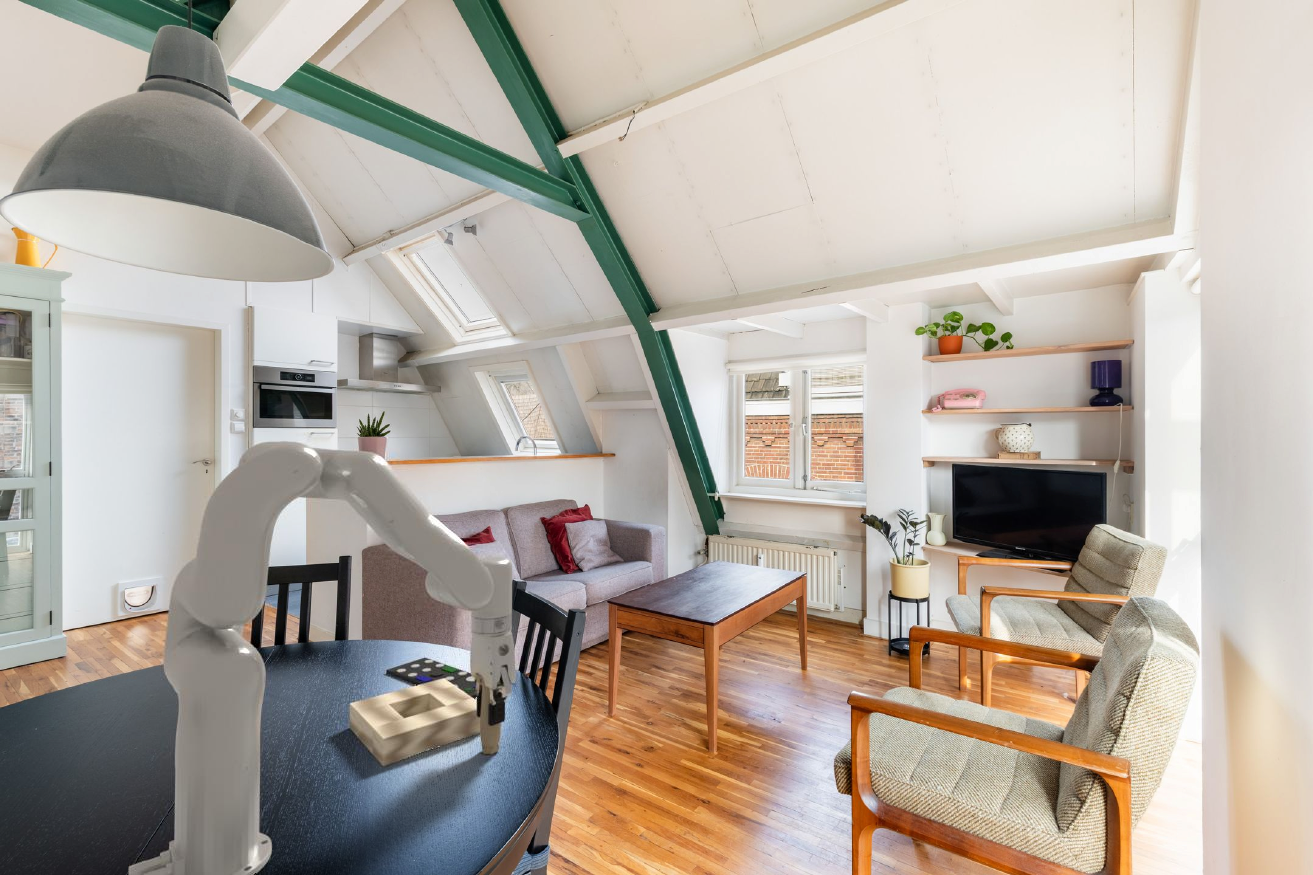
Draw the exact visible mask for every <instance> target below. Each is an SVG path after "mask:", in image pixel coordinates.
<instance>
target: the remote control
mask: <svg viewBox="0 0 1313 875" xmlns="http://www.w3.org/2000/svg"><path fill="white" fill-rule="evenodd" d="M386 673H387V674H386ZM385 674H386V675H389V676H391V677H394V678H396V679H398V680H401V679H402V680H401V681H404V682H406V681H407V683H409V684H411V683H413V684H412V685H414V684H416V685H421V684H424V683H428V682H432V681H436V680H439V679H443V678H445V679H446V680H447V681H449V682H450V683H452V684H453V685H455V686H456V687H458V688H459V689H460V690H462V691H463V692H465V693H466V694H468V695H469V696H471V697H472V698H475V699H477V698H476V697H477V696H479V695H476V684H475V679H474V678H473V677H472V675H471V672H468V671H466V670H463V669H460V668H456V667H454V666H451V665H448V664H445V663H442V662H440V661H436V660H433V659H431V658H428V657H422V658H419V659H416V660H412V661H410V662H405V663H403V664H401V665H397V666H394V667H391V668H388V669H386V671H385ZM416 685H415V686H416Z"/></svg>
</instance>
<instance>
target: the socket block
mask: <svg viewBox="0 0 1313 875" xmlns="http://www.w3.org/2000/svg"><path fill="white" fill-rule="evenodd" d="M349 729H350V730H351V731H352V732H353V733H354V734H355V736H356V737H357V738H358V739H359V740H360V742H361V743H362V744H363V745H364V746H365V747H366V748H367V749H368V751H369V752H370V753H371V754H372V755H373V757H374V758H375V759H376V760H377V761H378V762H379V763H380V765H381V766H383V767H385V766H389V765H392V764H395V763H397V762H400V760H401V761H403V760H402V759H404V760H406V759H408V758H407V757H409V758H412V757H413V756H412V755H415V754H418V753H420V752H424V751H427V750H428V749H432V748H435V749H437V748H436V747H438V746H441V747H443V746H442V745H444V746H446V745H445V744H447V745H449V744H448V743H450V744H452V742H453V741H456V740H459V741H461V739H462V738H464V739H467V738H469V737H472V735H473V736H476V735H479V734H480V717H477V699H476V698H475V699H473V698H472V697H471V696H469V695H468V694H466V693H465V692H463V691H462V690H460V689H459V688H458V687H456V686H455V685H453V684H452V683H450V682H449V681H447V680H446V679H445V678H443V679H439V680H436V681H432V682H428V683H424V684H421V685H417V686H416V685H414V686H410V687H407V688H403V689H399V690H396V691H392V692H388V693H383V694H380V695H376V696H373V697H369V698H365V699H361V700H357V701H354V702H350V703H349ZM466 737H467V738H466ZM462 740H463V739H462ZM456 742H457V741H456ZM453 743H454V742H453ZM438 748H439V747H438ZM427 752H428V751H427ZM424 753H425V752H424ZM418 755H419V754H418ZM411 756H412V757H411ZM415 756H416V755H415ZM405 758H406V759H405Z"/></svg>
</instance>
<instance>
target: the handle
mask: <svg viewBox="0 0 1313 875" xmlns="http://www.w3.org/2000/svg"><path fill="white" fill-rule="evenodd" d="M475 678H476V680H477V682H478V683H479V684H480V685H482V702H481V715H480V733H479V734H480V736H479V737H480V743H481V750H482V754H484V755H494V754H495V753H498V752H499V750H500V744H499V743H500V741H501V734H502V723H499V724H496V725H493V726H490V725H489V724H488V704H491V702H490V689H489V687H487V686H485V682H484V679H483V677H482V676H480V675H478V674H477V673H476V674H475ZM481 679H482V681H481ZM500 684H501V683H500V681H499V682H498V683H497V685H500ZM500 691H501V690H500V689H498V690H495V696H496V694H497V693H498V692H500Z"/></svg>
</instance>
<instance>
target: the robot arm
mask: <svg viewBox="0 0 1313 875" xmlns="http://www.w3.org/2000/svg"><path fill="white" fill-rule="evenodd" d="M298 498H303V499H304V498H305V499H318V500H319V499H320V500H321V499H322V500H323V499H326V500H340V501H346V502H347V503H348V504H349V505H350V506H351V507H352V508H353V509H354V510H355V512H356V513H357V514H358V515H359V516H360V517H361V518H362V519H363V520H364V521H365V523H366V524H368V526H369V527H370V528H371V529H372V530H373V531H374V533H376V535H377V536H378V537H379V538H380V539H381V540H382V542H383V543H384V544H385V545H386V546H387V547H389V548H390V549H391V550H392V551H394V552H395V553H397V554H398V555H400V556H402V557H404V558H405V559H407V560H409V561H411V562H413V563H414V564H417V565H418V566H419V567H421V568H422V569H424V570H426V572H428V573H427V574H426V577H425V580H424V581H425V582H424V584H425V589H426V590H425V591H426V592H427V594H428V595H429V596H430V597H431V598H432V599H433V600H435V601H438V602H440V603H442V604H445V605H449V606H452V607H454V608H458V609H460V610H463V611H467V612H470V614H471V615H470V616H471V617H470V633H471V641H470V642H471V643H470V654H469V655H470V656H469V657H470V659H469V660H470V661H469V662H470V664H469V667H470V668H469V669H470V670H469V671H470V673H471V675H472V677H473V678H474V679H475V684H476V695H479V696H477V698H476V701H477V717H480V715H481V702H482V685H480V684H479V683H478V682H477V680H476V678H475V674H476V673H477V674H478V675H480V676H482V677H483V679H484V682H485V686H487V687H489V689H490V702H491V704H488V724H489V725H490V726H493V725H496V724H499V723H501V724H502V723H505V720H506V702H507V700H508V699H507V698H508V696H510V695H512V693H513V690H512V685H514V684H515V683H516V654H515V653H516V651H515V643H514V637H513V636H514V635H513V631H512V629H513V628H512V627H513V626H512V625H513V624H512V623H513V620H512V619H513V616H512V615H513V565H512V562H511V560H510V559H509V558H506V557H503V556H489V557H481V558H479V557H478V556H477V554H476V553H475V552H474V551H473V550H472V549H471V548H470V547H469V545H467V543H465V542H464V541H463V540H462V539H461V538H460V537H458V536H457V535H456V534H455V533H454V532H453V531H451V530H450V529H449V528H448V527H447V526H446V525H445V524H443V523H442V522H441V521H440V520H439V519H438V518H437V517H435V516H434V515H433V514H432V513H431V512H430V511H429V510H428V509H427V508H426V507H425V506H424V505H423V503H422V502H421V501H420V500H419V498H418V497H417V496H416V495H415V494H414V492H413V491H412V490H411V488H410V487H408V485H407V484H406V483H405V481H404V480H403V479H402V478H401V477H400V476H399V474H398V473H397V471H395V469H394V468H393V467H392V466H391V465H390V464H389V463H388V461H387V460H386V459H385V458H383V456H381V455H379V454H377V453H375V452H373V451H365V450H342V449H341V450H340V449H329V448H328V449H327V448H319V447H318V448H317V447H312V446H311V447H310V446H309V445H307V444H306V443H301V442H297V441H287V440H286V441H265V442H261V443H256V444H254V445H253V446H251V447H249V448H248V449H246V451H244V453H243V454H242V455H241V457H240V459H239V461H238V464H237V467H235V468H234V469H233V470H231V471H230V472H229V473H228V475H226V476H225V478H223V480H221V482H219V484H218V486H216V488H215V489H214V491H213V492H212V494H211V495H210V497H209V500H208V501H207V504H206V506H205V509H204V513H203V516H202V520H201V525H200V533H199V537H198V542H197V547H196V556H195V558H192V559H191V560H190V561H189V562H188V563H186V564H185V565H184V566H183V567H182V569H180V571H179V572H178V574H177V576H176V577H175V580H174V582H173V586H172V588H171V593H170V600H169V606H168V608H169V609H168V613H167V614H168V616H167V621H166V622H167V623H166V632H165V638H164V639H165V640H164V649H163V671H164V674H165V677H166V678H167V680H168V683H170V685H171V686H172V688H173V690H174V692H175V693H176V694H177V698H178V717H177V725H176V733H175V734H176V735H175V750H174V767H175V769H174V770H175V771H174V772H175V775H174V776H175V780H174V783H175V784H174V837H173V838H174V840H173V839H172V840H171V841H169V843H168V844H169V849H168V850H166V851H165V850H164V851H162V852H160V853H159V854H160V855H159V856H156V857H154V858H150V859H148V860H143V861H141V862H137V863H134V864H132V865H129V866H128V875H254V874H255V873H256V874H257V873H259V872H260V871H261V869H263V868H264V867H265V865H266V864H267V863H268V861H270V858H271V855H272V851H273V850H272V848H273V844H272V839H271V838H270V837H269V836H268V835H266V834H264V833H262V832H260V798H261V797H260V791H261V790H260V788H261V786H260V785H261V718H262V710H263V709H262V706H263V700H264V694H265V687H266V679H267V676H266V675H267V674H266V665H265V663H264V662H265V661H264V659H263V658H262V655H261V653H260V652H259V651H258V650H257V648H256V647H254V645H253V644H252V643H250V642H249V641H248V640H246V639H245V638H244V637H243V633H244V632H243V631H244V626H245V625H247V624H248V623H251V622H252V620H254V619H255V618H256V617H257V616H258V615H259V613H260V612H261V610H262V608H263V606H264V604H265V601H266V597H267V591H268V590H267V589H268V588H267V587H268V576H269V567H270V566H269V565H270V556H271V548H272V547H271V546H272V541H273V535H274V530H275V526H276V523H277V520H278V518H279V516H280V515H281V513H282V511H283V510H284V509H285V508H286V507H287V506H288V505H289V504H291V503H292V502H293V501H295V500H296V499H298ZM481 681H482V679H481ZM499 681H500V683H501V684H500V685H497V683H498V682H499ZM498 689H500V692H498V693H497V694H496V696H495V690H498ZM256 874H255V875H256Z"/></svg>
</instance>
